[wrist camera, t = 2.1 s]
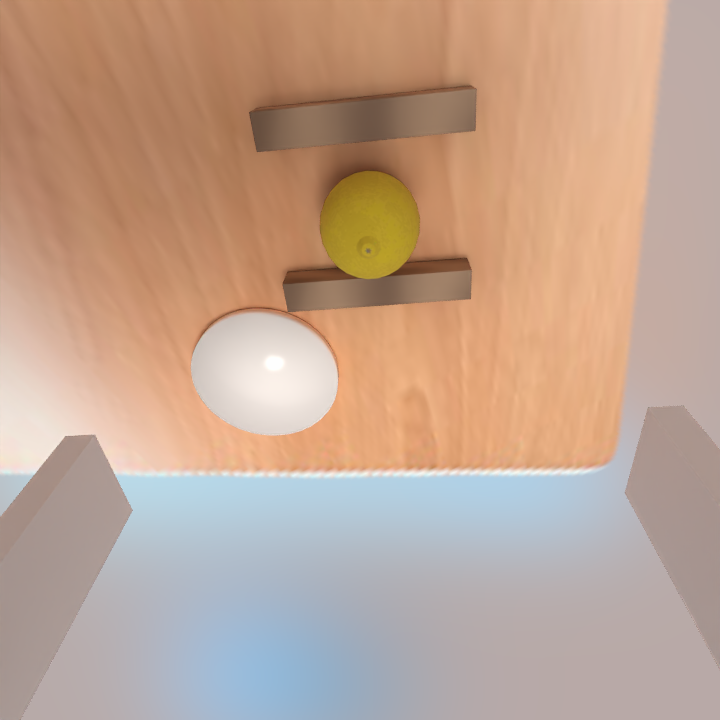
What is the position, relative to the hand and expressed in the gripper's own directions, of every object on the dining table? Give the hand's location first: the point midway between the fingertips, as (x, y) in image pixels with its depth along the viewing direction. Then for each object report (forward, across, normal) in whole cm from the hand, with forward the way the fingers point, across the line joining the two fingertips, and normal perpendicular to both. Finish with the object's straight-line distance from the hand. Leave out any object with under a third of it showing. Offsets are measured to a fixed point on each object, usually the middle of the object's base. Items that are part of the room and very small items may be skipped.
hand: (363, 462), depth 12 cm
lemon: (+23, 0, 0) cm, 23 cm away
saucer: (+22, -9, -12) cm, 27 cm away
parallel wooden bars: (+22, 0, 0) cm, 22 cm away
